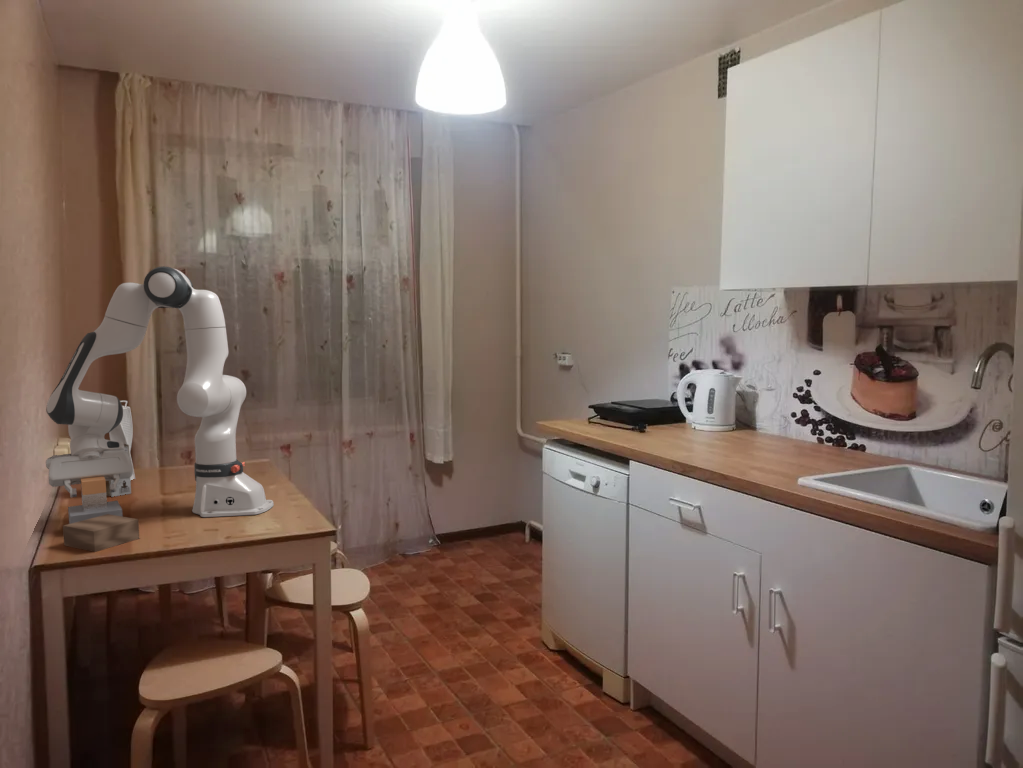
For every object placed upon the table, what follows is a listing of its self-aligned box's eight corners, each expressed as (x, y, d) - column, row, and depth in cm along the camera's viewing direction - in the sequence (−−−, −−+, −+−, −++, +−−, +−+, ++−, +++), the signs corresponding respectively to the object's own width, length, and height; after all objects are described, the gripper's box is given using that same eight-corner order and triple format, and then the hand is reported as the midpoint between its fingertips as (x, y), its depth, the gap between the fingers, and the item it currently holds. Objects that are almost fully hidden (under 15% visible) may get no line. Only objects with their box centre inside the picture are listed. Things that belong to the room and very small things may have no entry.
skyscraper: (118, 479, 265) (113, 400, 262) (140, 479, 265) (136, 400, 262) (104, 484, 257) (99, 403, 254) (127, 484, 256) (122, 402, 254)
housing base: (105, 504, 207) (104, 488, 207) (107, 508, 203) (106, 492, 202) (82, 507, 204) (81, 491, 204) (83, 511, 200) (82, 495, 199)
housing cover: (104, 488, 207) (103, 476, 207) (106, 492, 202) (105, 479, 202) (81, 491, 204) (80, 478, 204) (82, 495, 199) (82, 482, 199)
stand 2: (108, 532, 198) (107, 514, 197) (139, 538, 192) (138, 519, 192) (64, 545, 187) (62, 525, 187) (95, 551, 182) (93, 531, 181)
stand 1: (118, 518, 212) (117, 500, 212) (123, 527, 202) (122, 509, 202) (69, 524, 206) (68, 506, 205) (71, 535, 196) (70, 516, 195)
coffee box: (100, 493, 243) (97, 443, 242) (121, 489, 248) (118, 441, 246) (111, 497, 237) (108, 447, 235) (132, 493, 242) (129, 444, 240)
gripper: (44, 449, 202) (48, 492, 195) (129, 442, 214) (135, 482, 206) (45, 463, 207) (48, 505, 199) (128, 455, 218) (134, 495, 210)
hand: (93, 493), depth 203 cm, fingers open, 8 cm apart
